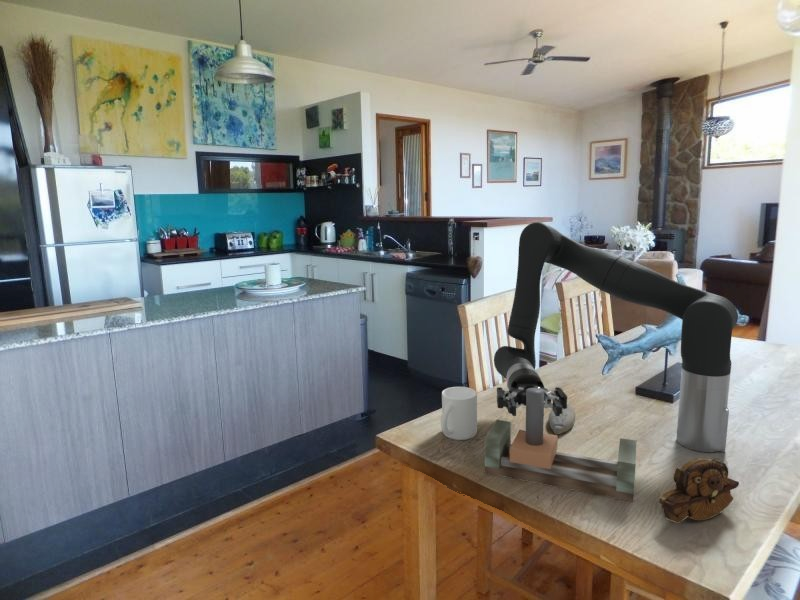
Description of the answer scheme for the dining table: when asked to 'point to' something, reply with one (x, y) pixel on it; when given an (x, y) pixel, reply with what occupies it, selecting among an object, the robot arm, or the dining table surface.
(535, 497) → the dining table surface
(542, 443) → the carriage
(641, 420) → the dining table surface
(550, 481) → the rail bed
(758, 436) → the dining table surface
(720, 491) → the wooden carving
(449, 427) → the mug
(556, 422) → the decorative stone
